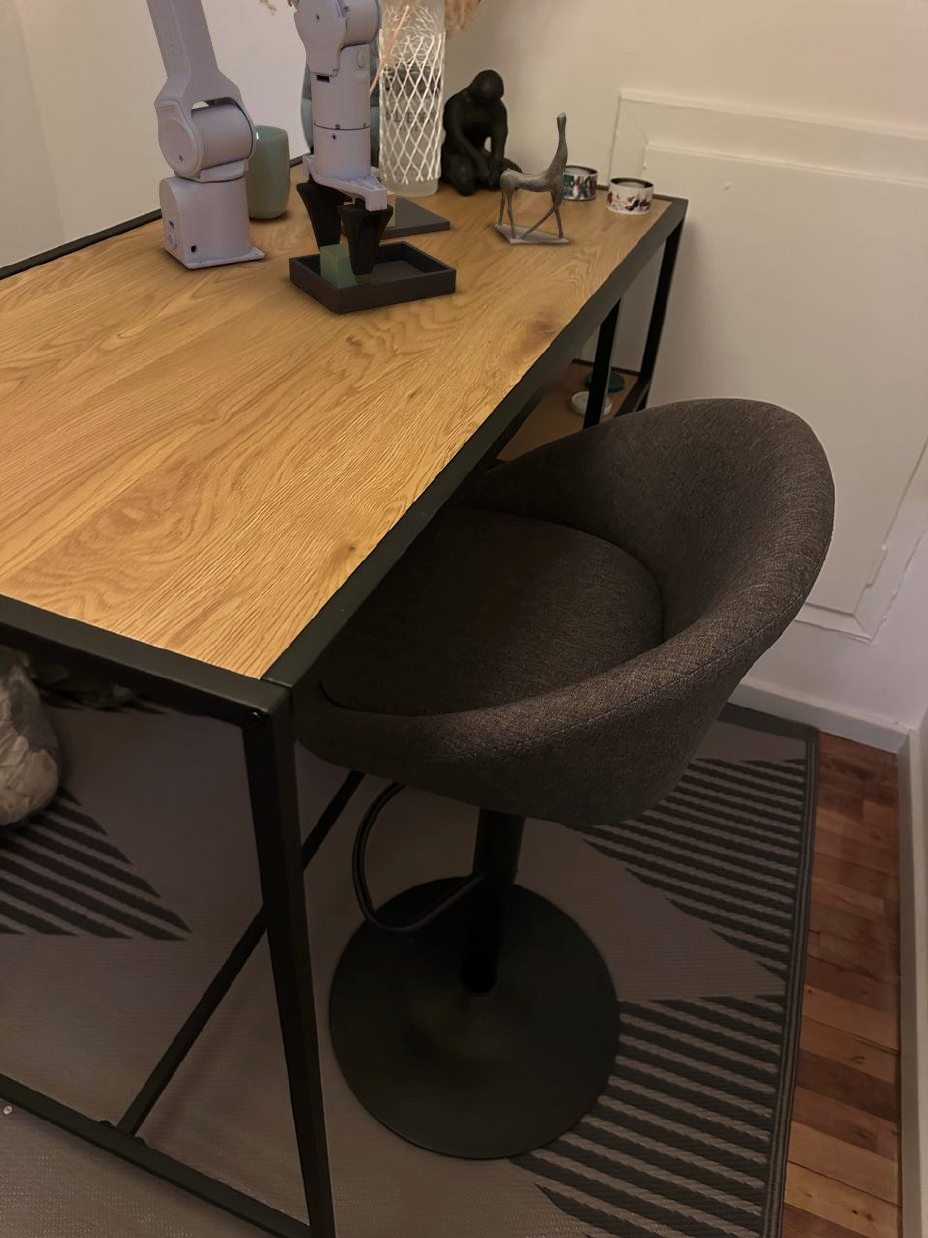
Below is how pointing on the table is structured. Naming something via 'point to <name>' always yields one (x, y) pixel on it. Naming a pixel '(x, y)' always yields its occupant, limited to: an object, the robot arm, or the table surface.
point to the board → (412, 220)
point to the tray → (378, 279)
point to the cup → (268, 174)
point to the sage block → (339, 267)
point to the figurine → (536, 183)
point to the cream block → (391, 202)
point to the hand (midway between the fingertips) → (345, 262)
